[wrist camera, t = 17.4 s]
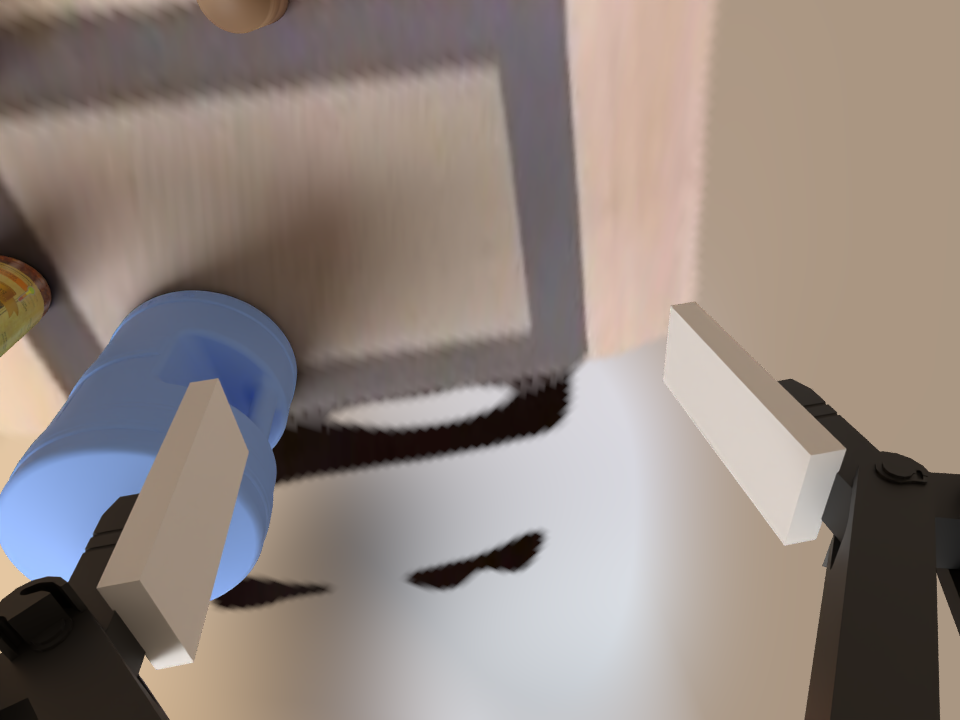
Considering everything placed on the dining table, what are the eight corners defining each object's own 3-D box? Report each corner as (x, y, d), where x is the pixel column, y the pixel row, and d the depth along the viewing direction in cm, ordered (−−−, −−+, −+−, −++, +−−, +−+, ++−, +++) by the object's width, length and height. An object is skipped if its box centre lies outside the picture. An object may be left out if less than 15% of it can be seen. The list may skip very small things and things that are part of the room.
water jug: (166, 444, 58) (29, 749, 35) (80, 308, 50) (-178, 594, 26) (320, 408, 59) (286, 685, 36) (261, 267, 50) (167, 512, 27)
